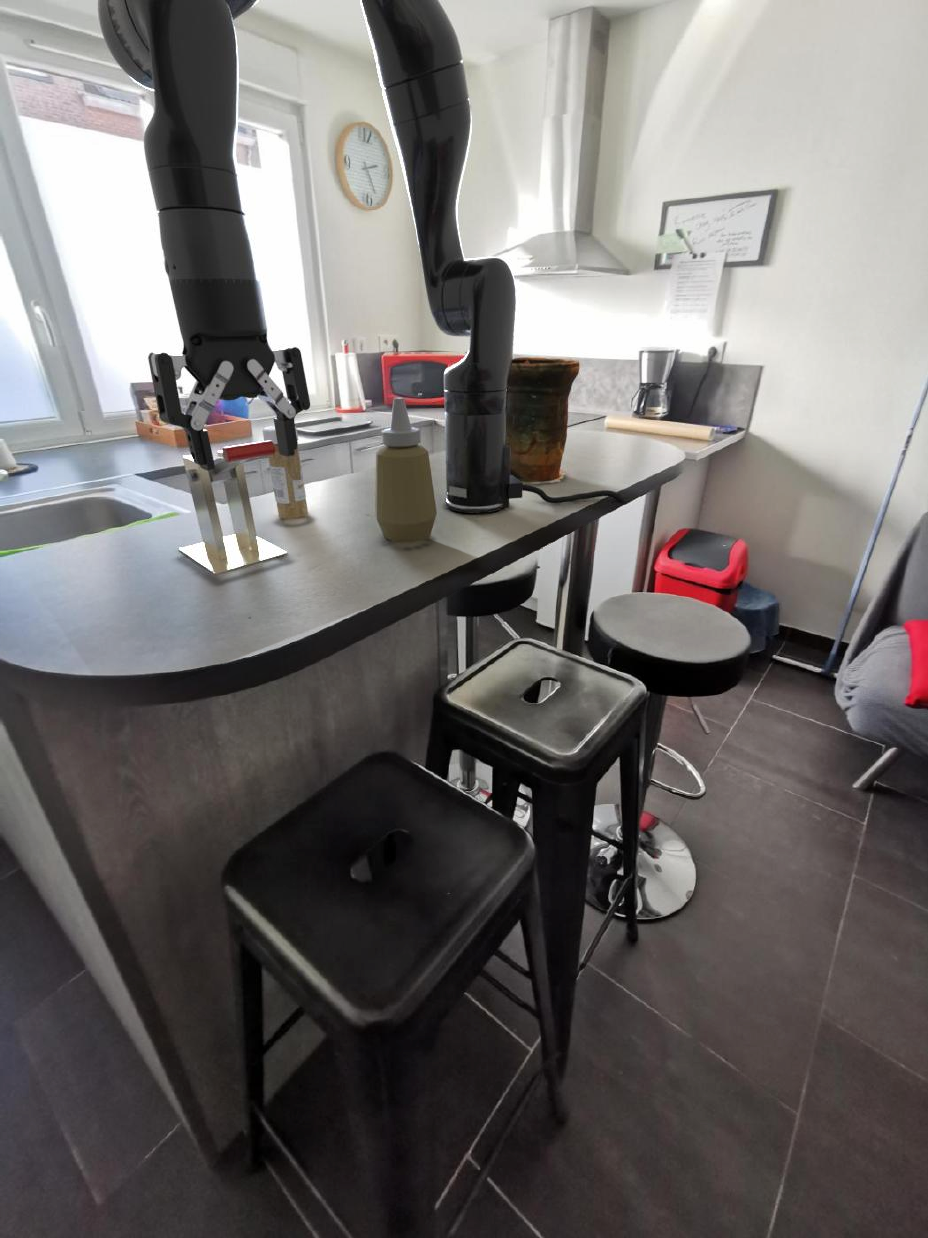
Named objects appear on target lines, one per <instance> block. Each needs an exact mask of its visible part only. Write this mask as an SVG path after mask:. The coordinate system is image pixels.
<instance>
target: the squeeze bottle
mask: <svg viewBox="0 0 928 1238" xmlns="http://www.w3.org/2000/svg"><path fill="white" fill-rule="evenodd" d="M391 409H392V410H391V417H390V424H389V427H388V428H384V429H382V430H381V439H382V440H381V441H382V445H384V446H381V447H380V448H379V449H378V450H377V451H376V452H375V490H374V491H375V493H374V496H375V499H374V516H375V519H376V521H377V524H378V526H379V528H380V531H381V533H382V535H383V537H384V538H385V539H387V540H389V541H393V542H406V543H407V542H408V543H409V542H416V541H420V540H424V539H427V540H430V538H431V535H432V532H433V528H434V524H435V521H436V518H437V511H438V510H437V505H436V498H435V491H434V484H433V475H432V468H431V462H430V455H429V450H428V449H426V448H425V447H424V445H420V443H421V429H420V428H419V427H413V426H412V425H411V421H410V417H409V414H408V409H407V405H406V402H405V398H404V397H393V402H392V408H391Z"/></svg>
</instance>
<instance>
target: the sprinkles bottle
mask: <svg viewBox="0 0 928 1238" xmlns="http://www.w3.org/2000/svg"><path fill="white" fill-rule="evenodd" d="M295 429H296V436H297V443H298V444H299V442H298V441H299V434H298V430H297V427H296V426H295ZM262 436H263V441H269V440H270V441H272V442H273V443H274V446H275V454H274V455H269V456H267V459H268V463H269V464H268V465H269V466H268V467H269V472H270V478H271V483H272V489H273V494H274V500H275V503H276V509H277V514H278V517H279V518H281V519H287V520H288V519H289V520H292V519H299V518H304V517H306V516H308V514H309V510H308V503H307V494H306V488H305V483H304V476H303V470H302V469H303V468H302V464H301V459H300V452H299V445H298V446H297V449H296V450H294V451H295V454H294V456H289V457H286V456H283V455H281V454H280V453H279V449H278V443H277V437H276V431H275V425H269V426H266V427H264V428H263V429H262Z"/></svg>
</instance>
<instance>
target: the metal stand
mask: <svg viewBox="0 0 928 1238" xmlns="http://www.w3.org/2000/svg"><path fill="white" fill-rule="evenodd" d="M216 453H217V459H218V458H224V457H223V454H222V450H217V451H216ZM182 460H183V465H184V469H185V473H186V474H185V475H186V478H187V481H188V485H189V489H190V493H191V499H192V501H193V506H194V511H195V514H196V518H197V522H198V523H197V524H198V527H199V531H200V535H201V539H202V542H200V543H196V544H193V545H188V546H185V547H179V548H178V551H179V552H181V553H182V554H184V555H185V556H186V557H188V558H190V559H191V560H193V561H194V562H195V563H197V564H198V565H199V566H201V567H203V568H204V569H206V570H207V571H209V572H210V573H211V574H212V575H214V576H218V575H220V574H223V573H228V572H230V571H234V570H238V569H241V568H244V567H248V566H251V565H256V564H259V563H262V562H265V561H269V560H272V559H276V558H279V557H283V556H286V555H288V551H286V550H283V549H281V548H280V547H278V546H276V545H274V544H272V543H271V542H268V541H266V540H265V539H262V538H261V537H258V535H257V530H256V525H255V520H254V519H255V518H254V514H253V509H252V504H251V499H250V496H249V495H250V494H249V489H248V484H247V479H246V473H245V468H244V464H243V463H244V462H243V463H241V464H240V465H238V466H236V467H234V468H233V469H231V470H229V471H230V474H231V477H232V478H231V479H229V480H227V481H226V482H223V486H224V491H225V495H226V500H227V505H228V510H229V514H230V519H231V522H232V528H233V532H234V533H233V534H232V535H228V536H224V534H223V529H222V525H221V520H220V515H219V512H218V507H217V503H216V502H217V501H216V497H215V494H214V489H213V485H212V484H211V480H210V475H209V471H207V470H204V469H202V468H201V467H200V465H199V464H196V463H195V462H194V461H193V459H192V458H191V454H190V455H183V456H182Z"/></svg>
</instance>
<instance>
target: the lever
mask: <svg viewBox="0 0 928 1238" xmlns="http://www.w3.org/2000/svg"><path fill="white" fill-rule="evenodd" d="M221 451H222V454H223V457H224V458H218V457H217V458H213V459H214V464H215V469H213V470H208V471H209V475H210V480H211V484H212V486H213V485H218V484H222V483H223V484H224V482H226V481H227V480H229V479H231V478H232V477H231V474H230V471H229V470H231V469H233V468H234V467H236V466H238V465H240V464H241V463H245V462H247V461H248V460H251V459H256V458H263V457H268V456H269V455H274V454H275V446H274V443H273V442H272V441H270V440H269V441H264V440H263V441H257V442H256V441H255V442H251V443H244V444H237V445H231V446H224V447H223V448H222V449H221Z"/></svg>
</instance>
